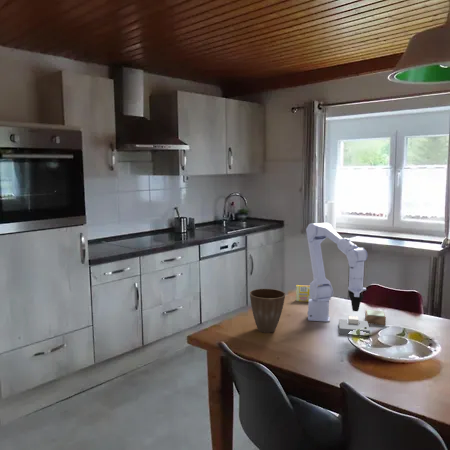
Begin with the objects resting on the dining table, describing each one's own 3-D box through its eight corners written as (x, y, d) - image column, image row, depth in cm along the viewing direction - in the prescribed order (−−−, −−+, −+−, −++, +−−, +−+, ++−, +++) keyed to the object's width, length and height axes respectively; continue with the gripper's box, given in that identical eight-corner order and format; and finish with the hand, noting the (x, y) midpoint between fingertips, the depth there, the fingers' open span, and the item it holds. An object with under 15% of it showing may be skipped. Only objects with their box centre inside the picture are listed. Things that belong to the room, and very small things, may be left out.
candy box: (327, 301, 234) (327, 285, 233) (327, 302, 232) (328, 286, 231) (295, 300, 236) (296, 284, 235) (296, 301, 234) (296, 285, 233)
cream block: (358, 330, 192) (358, 319, 191) (348, 329, 193) (349, 319, 192) (357, 326, 196) (358, 316, 196) (348, 325, 197) (348, 315, 196)
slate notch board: (369, 336, 184) (369, 330, 183) (339, 334, 186) (339, 328, 186) (367, 326, 195) (367, 321, 195) (338, 324, 198) (338, 319, 198)
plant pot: (286, 325, 196) (287, 290, 194) (281, 337, 182) (282, 299, 180) (253, 322, 200) (253, 287, 198) (245, 334, 186) (246, 296, 184)
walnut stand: (366, 323, 199) (366, 314, 199) (365, 318, 207) (365, 309, 207) (385, 325, 197) (385, 316, 197) (383, 319, 205) (383, 310, 205)
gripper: (368, 282, 176) (366, 315, 178) (365, 273, 190) (363, 305, 192) (349, 281, 178) (348, 314, 179) (347, 272, 192) (346, 303, 193)
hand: (355, 309), depth 186 cm, fingers open, 4 cm apart
